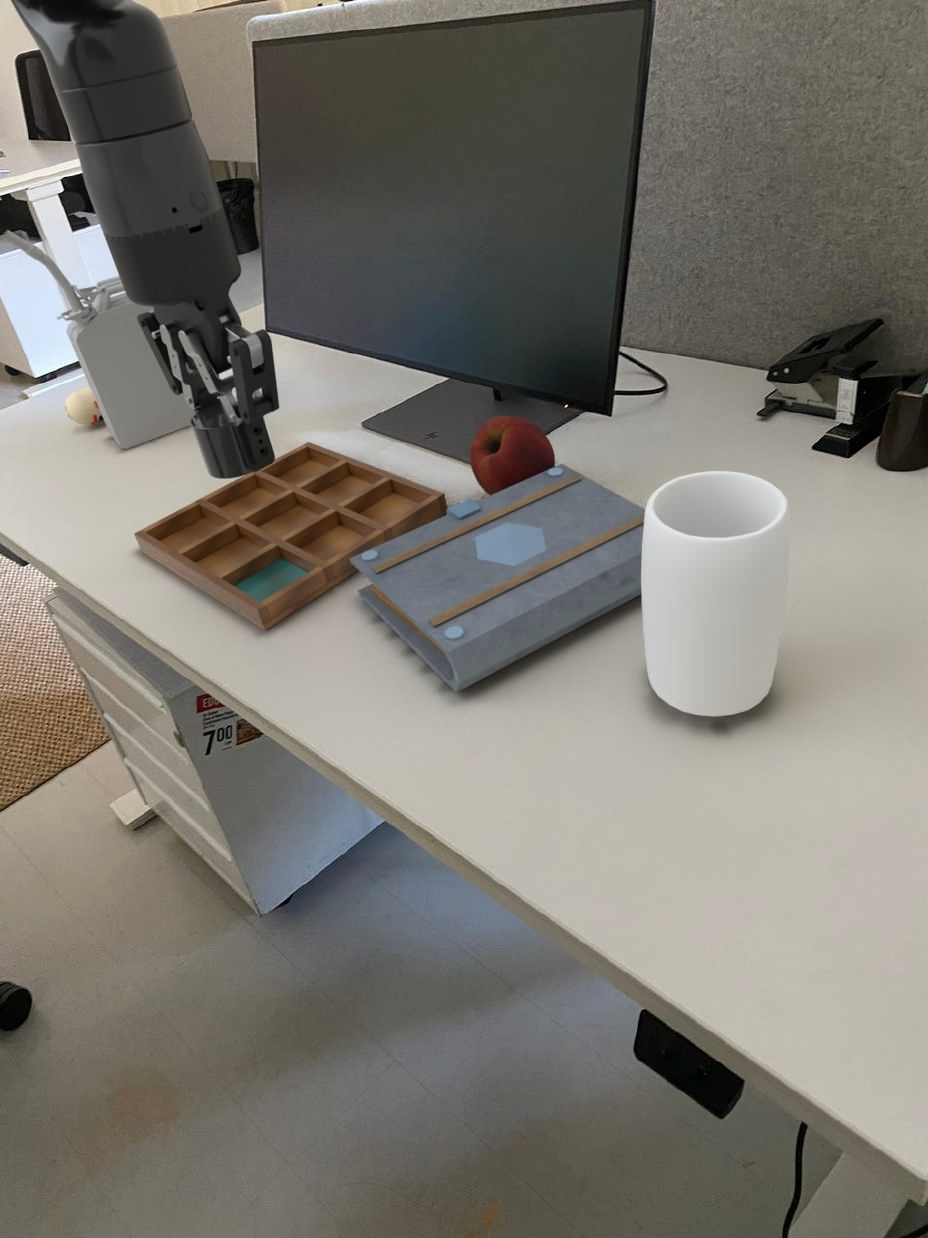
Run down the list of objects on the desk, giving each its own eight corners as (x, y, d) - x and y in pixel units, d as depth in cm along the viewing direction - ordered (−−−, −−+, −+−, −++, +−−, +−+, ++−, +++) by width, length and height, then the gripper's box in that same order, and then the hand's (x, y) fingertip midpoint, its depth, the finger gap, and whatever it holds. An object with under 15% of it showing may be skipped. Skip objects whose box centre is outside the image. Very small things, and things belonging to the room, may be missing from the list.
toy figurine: (155, 407, 117) (70, 438, 111) (139, 375, 116) (52, 404, 110) (174, 393, 111) (84, 424, 105) (157, 358, 110) (65, 388, 103)
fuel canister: (101, 459, 101) (1, 233, 86) (90, 446, 105) (-7, 227, 90) (223, 414, 107) (149, 194, 92) (209, 402, 110) (136, 189, 95)
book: (463, 703, 60) (452, 648, 57) (358, 597, 72) (344, 547, 69) (691, 580, 67) (693, 525, 64) (562, 502, 79) (558, 453, 76)
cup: (804, 702, 56) (830, 512, 47) (693, 753, 54) (698, 563, 45) (722, 632, 62) (731, 453, 53) (619, 674, 60) (612, 496, 51)
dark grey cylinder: (227, 485, 62) (209, 433, 59) (197, 469, 65) (178, 419, 62) (278, 459, 64) (262, 408, 62) (246, 444, 67) (230, 395, 64)
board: (265, 630, 70) (257, 610, 69) (141, 552, 83) (133, 533, 82) (448, 512, 81) (444, 493, 79) (313, 459, 93) (308, 441, 92)
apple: (461, 496, 83) (448, 418, 78) (529, 468, 85) (521, 390, 80) (502, 527, 77) (491, 446, 72) (574, 496, 80) (568, 415, 75)
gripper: (58, 220, 57) (152, 456, 67) (164, 239, 48) (254, 507, 58) (158, 189, 60) (233, 417, 71) (275, 201, 52) (341, 460, 62)
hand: (242, 456), depth 64 cm, fingers closed on dark grey cylinder, 4 cm apart
